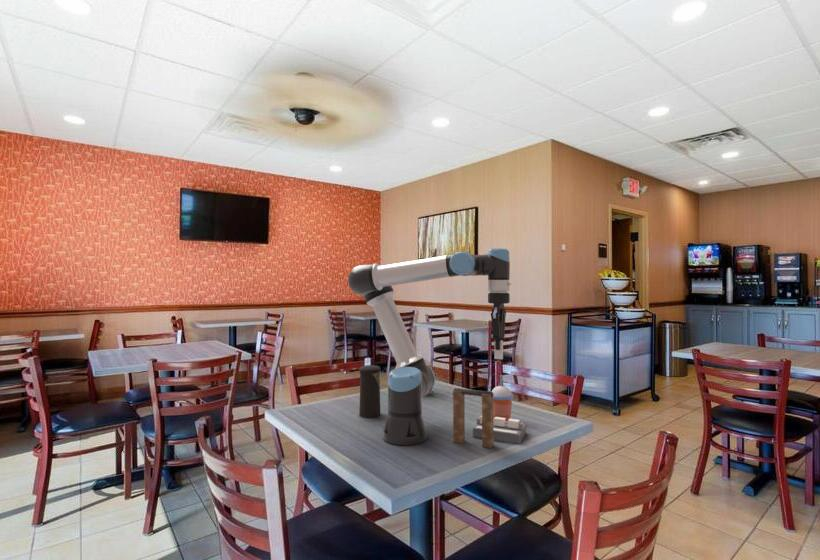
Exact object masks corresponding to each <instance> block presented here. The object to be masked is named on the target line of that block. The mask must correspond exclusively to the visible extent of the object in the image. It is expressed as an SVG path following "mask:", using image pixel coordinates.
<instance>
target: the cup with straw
mask: <svg viewBox="0 0 820 560" xmlns="http://www.w3.org/2000/svg"><path fill="white" fill-rule="evenodd" d="M499 377H500V378H499V380H500V381H499V382H500V383H499V385H497V386H495V387H494V388H493V389H492V391H491V392H493V395H494V396H493V420H494V418H495V417H501V418H506V421H507V422H508V420H509V419H511V415H512V406H513V402H512V401H513V399H514V393H512V391H511V389H509V387H508V386H507V387H506V386H505V385H504V384H503V383H504V382H503V377H504V376H503V374H500V375H499Z"/></svg>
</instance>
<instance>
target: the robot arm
mask: <svg viewBox="0 0 820 560" xmlns="http://www.w3.org/2000/svg"><path fill="white" fill-rule="evenodd" d="M510 263H511V261H510V251H509V250H508V249H506V248H490V249H488V250H487V253H486V254H471V253H469V252H468V251H457V252H454V253H451V254H446V255H439V256H438V255H437V256H433V257H427V258H422V259H414V260H407V261H402V262H397V263H390V264H384V265H380V264H379V263H373V264H359V265H356V266H354V267H353V268H352V269H351V270H350V272H349V274H348V276H347V283H348V284H347V285H348V286H349V288H350V290H351V291H352V292H353V294H356V295H358V296H361V297H362V296H363V299H364V301H365V303H366V305H368V306H371V308H372V309H373V311H374V314H375V316H376V318H377V322H378V323H379V325H380V328H381V330H382V332H383V335H384V337H385V340H386V341H387V344H388V346H389V349H390V351H391V354H392V356H393V358H394V361H395V363H396V365H395V368H394V369H392V370H391V371H390V372H389V373H388V378H387V396H388V397H387V405H388V406H387V411H388V412H387V413H388V414H387V418H386V420H385V425H384V428H383V432H382V433H383V435H382V437H383V438H382V439H383V441H385V442H387V444H392V445H397V446H413V445H419V444H421V443H424V442H425V441H427V433H428V431H427V428H426V425H425V421H424V418H423V416H422V415H423V414H422V410H423V409H422V407H423V406H422V404H423V403H422V401H423V400H422V399H423V398H424V397H425V396H427V395H430V394H429V393H430V391H431V390H432V391H433V388H434V385H435V384H436V376H435V371H434V370H433V368H432V369H431V368H430V367H429V366H427V365H426V363H425V361H424V359H425V358H424V357H422V356H423V355H422V356H419V355H420V354H419V355H418V353H417V351H416V348H415V346H414V344H413V342H412V339H411V337H410V335H409V333H408V330H407V328H406V325H405V323H404V321H403V319H402V317H401V314H400V312H399V310H398V308H397V305H396V303H395V301H394V294H395V291H394V288H393V287H392V286H398V285H405V284H411V283H417V282H424V281H430V280H439V279H444V278H452V277H459V276H462V277H468V276H470V277H471V276H473V277H474V276H487V291H488V294H487V302H488V304H493V306H492V309H491V312H490V317H491V328H492V329H491V330H492V331H491V332H492V338H491V341H494V342H493V344H494V346H493V347H494V351H493V352H494V360H503V359H504V341H506V338H505V330H506V328H505V327H506V316H507V310H506V308H505V304H510V302H511V299H510V297H511V296H510V295H511V294H510V293H509V291H510V286H511V285H512V283H511V282H510V277H511V276H510V274H511V273H510V271H511V268H510V267H511V266H510Z"/></svg>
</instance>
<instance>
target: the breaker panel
mask: <svg viewBox="0 0 820 560" xmlns="http://www.w3.org/2000/svg"><path fill="white" fill-rule="evenodd" d="M524 423H525V422H520V424H519V429H516V428H509V427H508V424H506V425H505V426H504V427H502V426H494V422H493V433H494V441H497V442H498V441H499V442H503V443H510V444H517V445H519V444H521V442H522V441H523V439H524V437H525V436H526V434H527V424H526V423H525V424H524ZM472 437H473V438H478V439H482V424H480V416H478V417H477V418H476V424H475V425H474V426H473V427H472Z"/></svg>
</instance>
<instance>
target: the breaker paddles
mask: <svg viewBox="0 0 820 560" xmlns="http://www.w3.org/2000/svg"><path fill="white" fill-rule="evenodd" d="M479 417H480V424H482V414H481V416H479ZM493 422H494V426H502V427H504V426H505V425H506V424H508V427H509V428H516V429H519V424H520V423H521V420H520V419H516V418H515V419H514V418H510V419H509V420H508V422H507V421H506V418H501V417H495V418H494V420H493Z"/></svg>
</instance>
